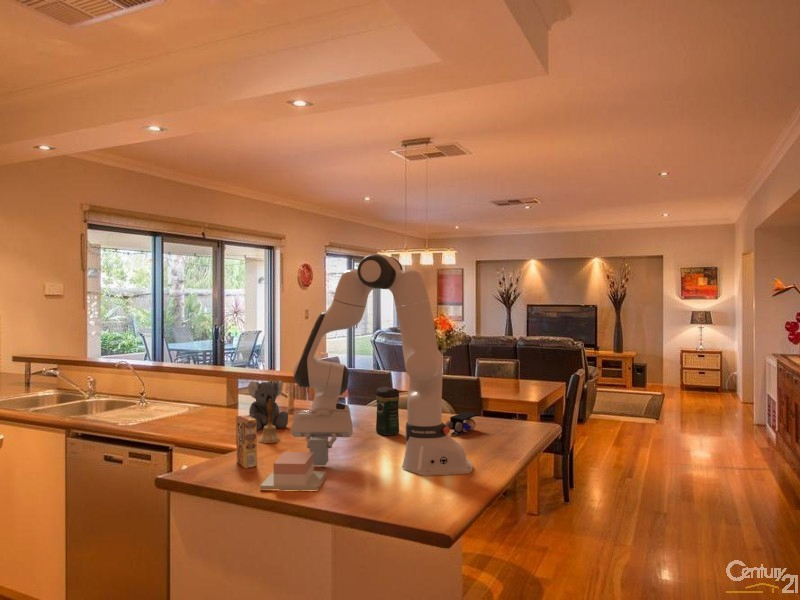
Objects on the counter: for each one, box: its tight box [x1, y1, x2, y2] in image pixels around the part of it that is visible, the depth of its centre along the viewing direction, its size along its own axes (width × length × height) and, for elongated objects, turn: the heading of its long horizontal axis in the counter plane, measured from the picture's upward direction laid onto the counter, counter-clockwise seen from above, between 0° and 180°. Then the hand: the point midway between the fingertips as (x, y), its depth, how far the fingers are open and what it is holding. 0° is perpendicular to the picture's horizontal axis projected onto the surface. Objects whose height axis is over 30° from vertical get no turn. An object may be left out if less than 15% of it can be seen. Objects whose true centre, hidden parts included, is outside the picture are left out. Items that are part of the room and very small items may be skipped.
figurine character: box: [445, 411, 479, 436], centre depth 231 cm, size 7×8×15 cm
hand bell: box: [257, 399, 281, 444], centre depth 217 cm, size 8×8×16 cm
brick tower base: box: [259, 451, 327, 491], centre depth 167 cm, size 16×14×8 cm
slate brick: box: [309, 436, 329, 466], centre depth 183 cm, size 5×5×8 cm
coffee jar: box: [375, 386, 400, 436], centre depth 229 cm, size 10×8×19 cm
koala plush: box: [247, 380, 289, 431], centre depth 243 cm, size 17×18×20 cm
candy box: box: [235, 414, 258, 469], centre depth 186 cm, size 9×4×15 cm, turn 35°
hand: (319, 447), depth 184 cm, fingers closed on slate brick, 5 cm apart
